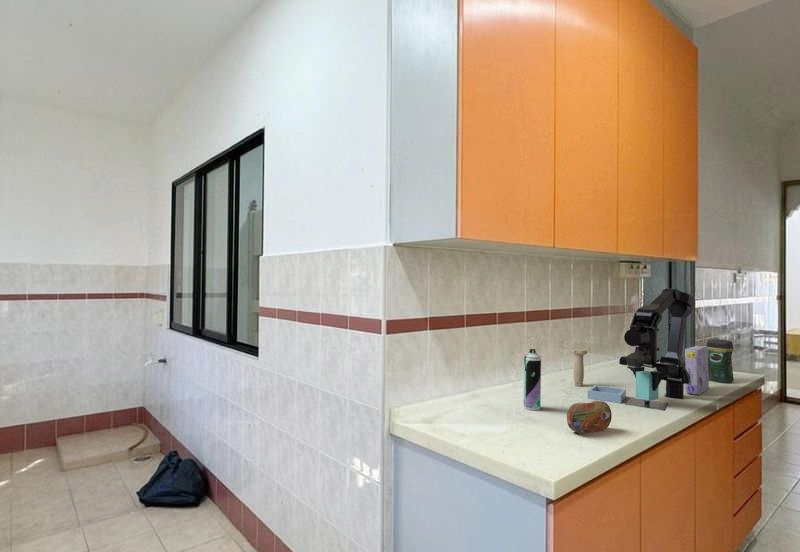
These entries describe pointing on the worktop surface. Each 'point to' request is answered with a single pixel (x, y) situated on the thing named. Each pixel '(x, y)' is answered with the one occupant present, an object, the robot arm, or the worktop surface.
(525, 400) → the spray can
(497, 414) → the worktop surface
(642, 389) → the turquoise rectangular block
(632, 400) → the ball stud
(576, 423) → the tin
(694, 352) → the cake pan box
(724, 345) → the coffee jar
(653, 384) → the robot arm
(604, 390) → the bin
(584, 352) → the handle
